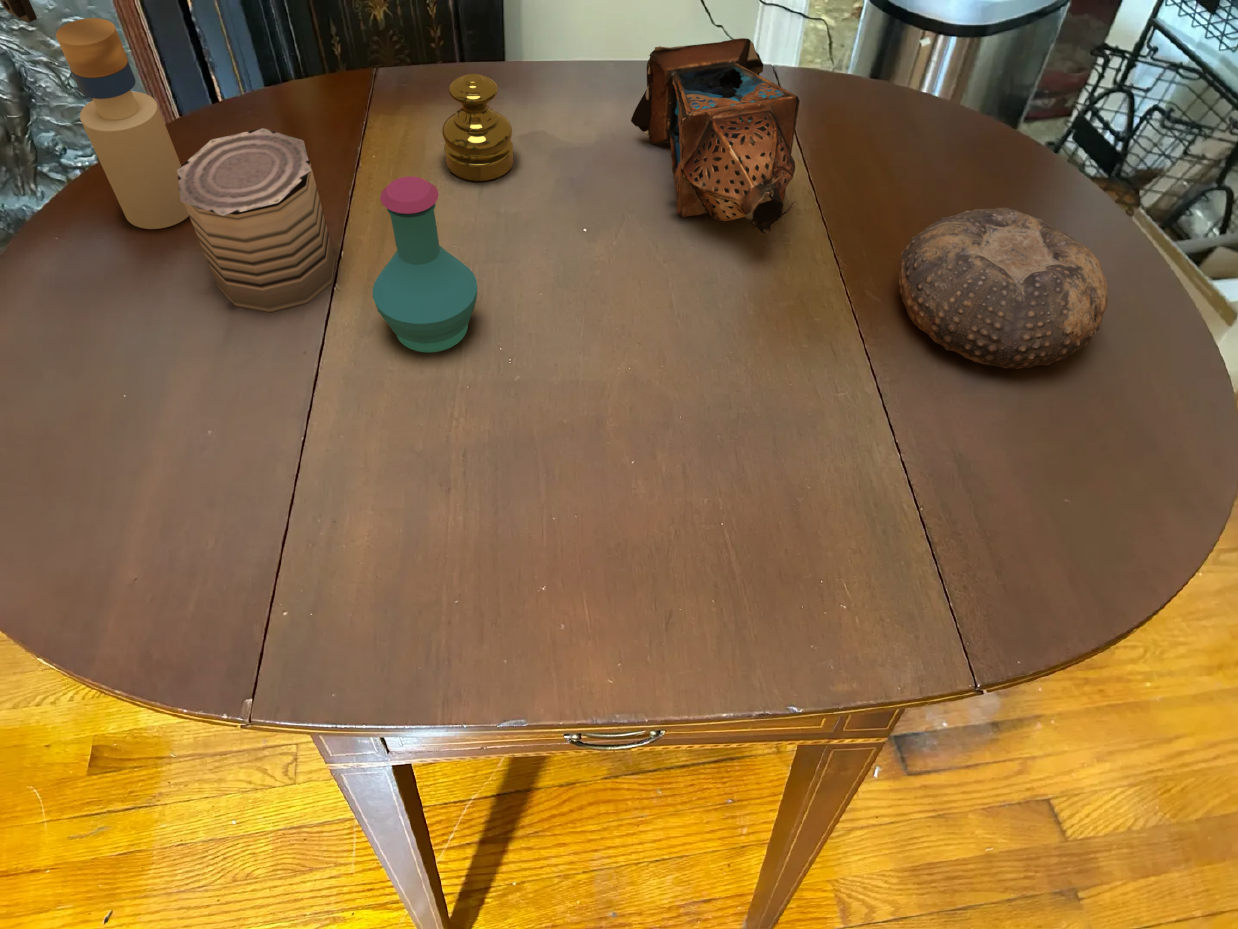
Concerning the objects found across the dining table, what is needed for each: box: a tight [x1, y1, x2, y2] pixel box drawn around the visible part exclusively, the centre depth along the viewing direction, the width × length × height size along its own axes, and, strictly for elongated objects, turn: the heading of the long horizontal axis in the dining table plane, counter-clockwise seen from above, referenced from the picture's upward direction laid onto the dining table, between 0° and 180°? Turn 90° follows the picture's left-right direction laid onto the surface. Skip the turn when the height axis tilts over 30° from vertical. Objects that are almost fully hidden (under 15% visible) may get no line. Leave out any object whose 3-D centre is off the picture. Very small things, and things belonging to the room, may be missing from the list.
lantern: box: [630, 37, 801, 234], centre depth 94 cm, size 16×16×25 cm
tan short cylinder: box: [55, 17, 129, 78], centre depth 80 cm, size 5×5×3 cm
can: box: [177, 127, 336, 313], centre depth 84 cm, size 11×11×12 cm
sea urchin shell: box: [898, 207, 1109, 370], centre depth 85 cm, size 19×19×10 cm
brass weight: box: [441, 73, 514, 182], centre depth 97 cm, size 7×7×10 cm
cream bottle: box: [69, 61, 189, 230], centre depth 88 cm, size 7×7×16 cm
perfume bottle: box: [371, 175, 478, 353], centre depth 79 cm, size 9×9×15 cm
